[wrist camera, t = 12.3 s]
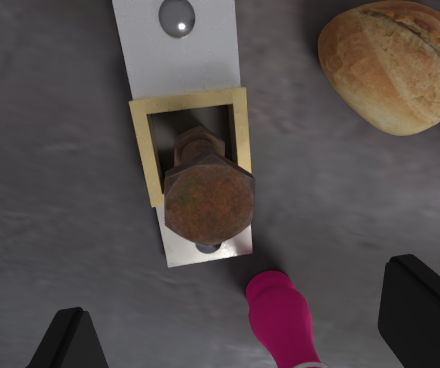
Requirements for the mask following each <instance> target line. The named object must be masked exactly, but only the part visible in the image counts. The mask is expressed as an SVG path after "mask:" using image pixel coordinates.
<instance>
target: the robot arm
mask: <svg viewBox="0 0 440 368" xmlns="http://www.w3.org/2000/svg"><path fill="white" fill-rule="evenodd" d="M378 329H379V332H380V334H381V336H382V338H383V339H384V340H385V342H386V343H387V344H388V346H389V347H390V348H391V350H392V351H393V353H394V354H395V355H396V357H397V358H398V359H399V361H400V362H401V363H402V365H403V366H404V368H440V276H439V275H438V274H437V273H435V272H434V271H433V270H432V269H430V268H429V267H428V266H427V265H426V264H424V263H423V262H422V261H421V260H419V259H418V258H417V257H416V256H414V255H412V254H406V255H400V256H394V257H391V258H390V260H389V262H388V263H386V266H385V273H384V280H383V288H382V295H381V303H380V310H379V318H378ZM26 368H109V367H108V364H107V362H106V359H105V356H104V353H103V351H102V348H101V345H100V342H99V339H98V337H97V334H96V331H95V328H94V326H93V323H92V320H91V317H90V315H89V312H88V311H83V309H82V308H81V307H75V308H69V309H62V310H59V311H58V312H57V313H56V315H55V317H54V318H53V320H52V322H51V324H50V326H49V328H48V330H47V332H46V333H45V335H44V337H43V339H42V341H41V343H40V345H39V347H38V348H37V350H36V352H35V354H34V356H33V358H32V360H31V362H30V363H29V365H28V366H27V367H26Z"/></svg>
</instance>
